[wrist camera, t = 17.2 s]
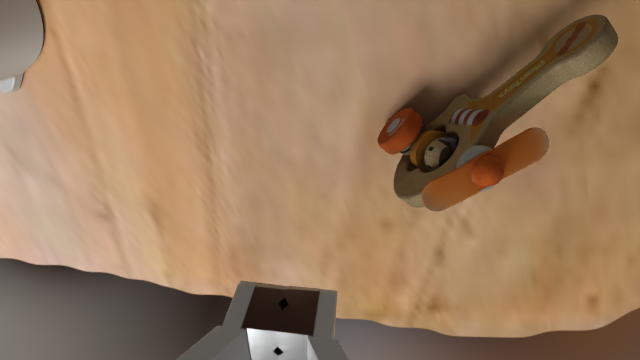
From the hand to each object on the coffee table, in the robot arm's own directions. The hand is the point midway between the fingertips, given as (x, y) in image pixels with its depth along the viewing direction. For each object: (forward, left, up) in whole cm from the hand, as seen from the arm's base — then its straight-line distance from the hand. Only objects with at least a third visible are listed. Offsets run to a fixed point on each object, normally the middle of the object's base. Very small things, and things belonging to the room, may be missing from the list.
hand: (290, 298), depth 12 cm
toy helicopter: (+12, -4, -30) cm, 33 cm away
